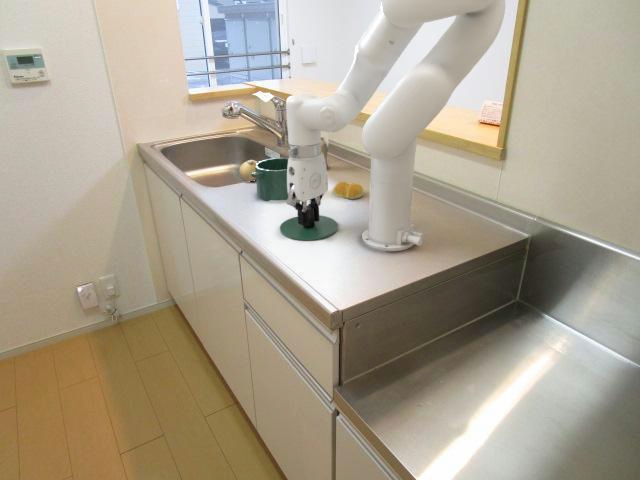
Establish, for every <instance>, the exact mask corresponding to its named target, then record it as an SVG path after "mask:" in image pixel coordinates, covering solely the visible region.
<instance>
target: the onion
mask: <svg viewBox="0 0 640 480" xmlns="http://www.w3.org/2000/svg"><path fill="white" fill-rule="evenodd" d="M258 162H259V161H256V160H254V159H250V160H246V161H244V162H243V163H242V164H241V165H240V167H239V169H238V170H239V171H238V173H239V176H240V178H241V179H242V180H244V181H247V182H251V181H252V182H254V181H256V178H255V177H252V176H251V173H254V172H255V164H256V163H258Z"/></svg>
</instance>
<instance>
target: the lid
mask: <svg viewBox="0 0 640 480" xmlns="http://www.w3.org/2000/svg"><path fill="white" fill-rule="evenodd" d="M306 211H308V213H309V226H307V227H306V226H303V225H300V224H299V223H298V216H293V217H291V218H288V219H287V220H285V221H283V222H282V223H281V224H280V226H279V231H280V234H282V235H283V236H284V237H286V238H288V239H292V240H297V241H316V240H321V239H326V238H328V237H331V236H332V235H334V234H335V233H336V232H337V231H338V229H339V223H338V222H337V221H336V220H335V219H334V218H332V217H329V216H325V215H320V214H319V221H318V222H316V221H315V215H314V206H310V205H308V204H307V209H306Z"/></svg>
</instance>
